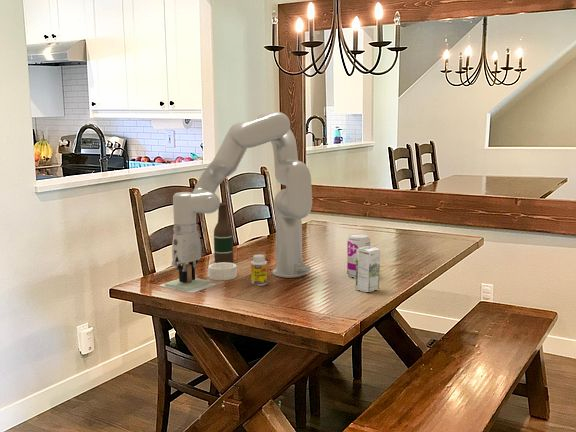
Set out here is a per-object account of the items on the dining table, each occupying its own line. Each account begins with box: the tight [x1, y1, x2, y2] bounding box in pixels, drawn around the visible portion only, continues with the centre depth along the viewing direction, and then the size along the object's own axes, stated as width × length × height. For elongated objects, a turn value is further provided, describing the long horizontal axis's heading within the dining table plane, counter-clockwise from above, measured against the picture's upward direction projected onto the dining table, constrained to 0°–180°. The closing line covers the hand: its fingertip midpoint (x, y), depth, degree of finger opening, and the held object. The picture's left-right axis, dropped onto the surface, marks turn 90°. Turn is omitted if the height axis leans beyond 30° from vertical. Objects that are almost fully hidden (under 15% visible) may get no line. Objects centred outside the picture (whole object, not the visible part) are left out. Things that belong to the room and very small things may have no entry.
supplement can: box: [346, 233, 371, 279], centre depth 222 cm, size 8×8×15 cm
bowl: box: [207, 262, 238, 281], centre depth 223 cm, size 10×10×4 cm
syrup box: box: [355, 245, 381, 293], centre depth 205 cm, size 6×6×14 cm
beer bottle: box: [213, 202, 234, 263], centre depth 244 cm, size 8×8×24 cm
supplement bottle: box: [250, 254, 268, 287], centre depth 214 cm, size 6×6×10 cm
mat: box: [158, 282, 217, 294], centre depth 213 cm, size 16×12×1 cm
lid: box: [165, 263, 211, 292], centre depth 212 cm, size 11×11×7 cm
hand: (187, 280), depth 212 cm, fingers closed on lid, 3 cm apart
